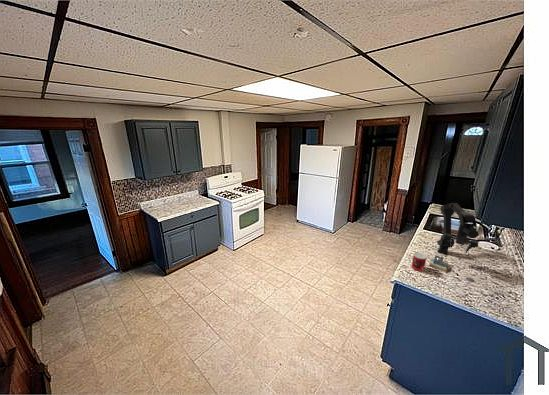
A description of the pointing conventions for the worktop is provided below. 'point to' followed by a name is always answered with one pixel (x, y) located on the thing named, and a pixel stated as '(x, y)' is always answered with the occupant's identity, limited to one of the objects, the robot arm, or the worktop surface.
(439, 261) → the housing
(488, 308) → the worktop surface
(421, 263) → the canned food
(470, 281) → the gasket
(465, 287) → the worktop surface
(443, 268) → the stand
